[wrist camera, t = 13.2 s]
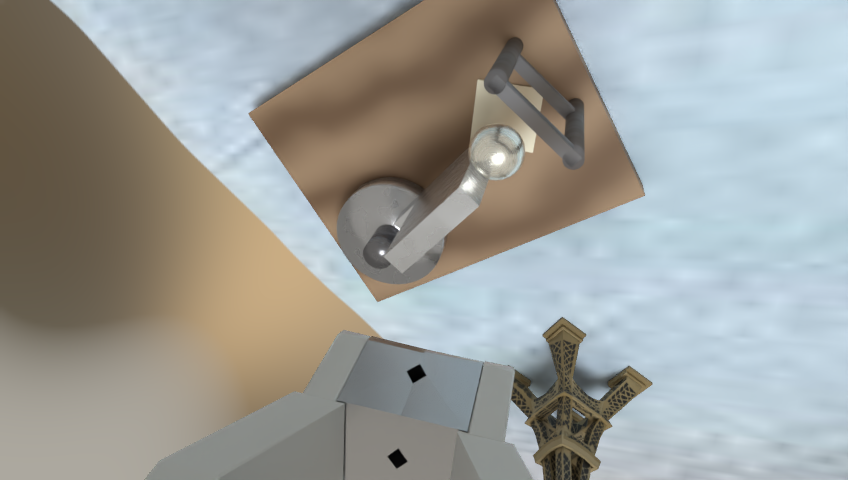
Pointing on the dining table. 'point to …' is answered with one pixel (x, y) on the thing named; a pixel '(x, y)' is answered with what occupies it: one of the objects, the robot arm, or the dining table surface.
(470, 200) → the crank handle
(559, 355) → the eiffel tower
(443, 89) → the stand
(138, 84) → the dining table surface
